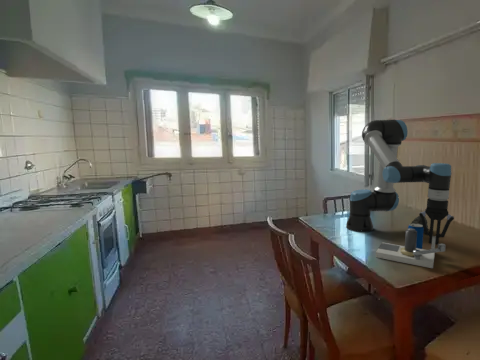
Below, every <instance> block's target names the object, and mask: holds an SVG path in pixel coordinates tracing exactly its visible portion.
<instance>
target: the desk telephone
mask: <svg viewBox="0 0 480 360" xmlns="http://www.w3.org/2000/svg"><path fill="white" fill-rule="evenodd" d="M404 247H405V245H400V244H399V245H398V244H394V243H388V242H387V243H386V242H381V243H380V245H379V246H378V248H377V250H376V251H375V258H378V259H385V260H388V261H393V262H398V263H404V264H409V265H414V266H418V267H424V268H430V269H434V263H435V255H436V254H435V253H436V252H435V253H428V254H422V256H414V257H413V256H408V255H404V254H402V253H401V252H400V250H401V248H404ZM416 249H417V250H420V251H423V250H425V249H424V248H422V249H418V248H416Z"/></svg>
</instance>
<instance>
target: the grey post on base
mask: <svg viewBox="0 0 480 360" xmlns="http://www.w3.org/2000/svg"><path fill="white" fill-rule="evenodd" d="M404 237H405V239H404V246H405V247H404V248H401V250H400V252H401V253H402V254H404V255H408V256H413V257H414V256H415V255H413V250H417V249H416V241H417V231H415V229H412V228H408V227H407V229H406V230H405V234H404Z"/></svg>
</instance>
